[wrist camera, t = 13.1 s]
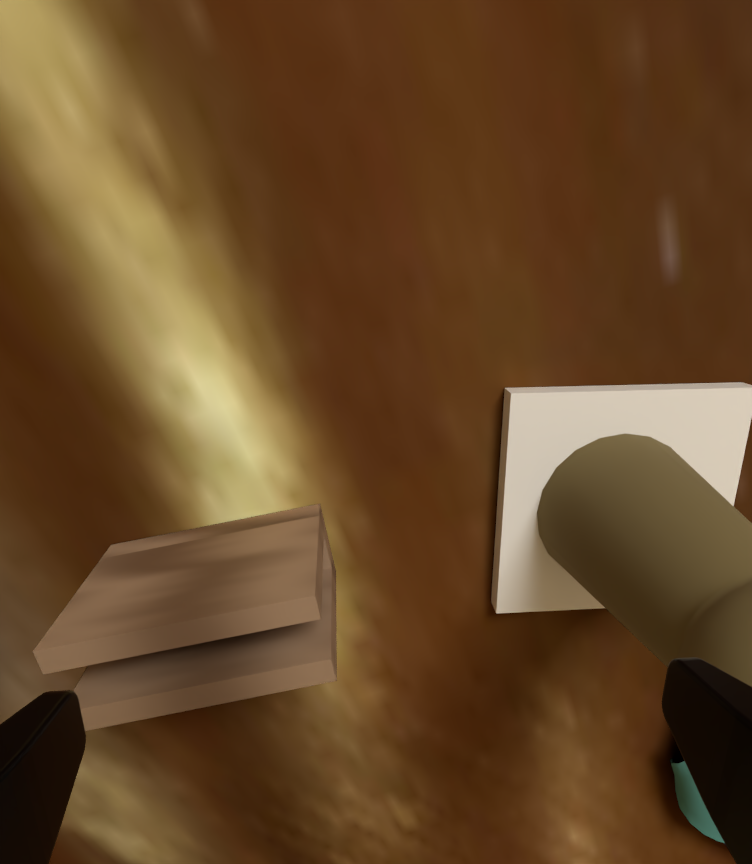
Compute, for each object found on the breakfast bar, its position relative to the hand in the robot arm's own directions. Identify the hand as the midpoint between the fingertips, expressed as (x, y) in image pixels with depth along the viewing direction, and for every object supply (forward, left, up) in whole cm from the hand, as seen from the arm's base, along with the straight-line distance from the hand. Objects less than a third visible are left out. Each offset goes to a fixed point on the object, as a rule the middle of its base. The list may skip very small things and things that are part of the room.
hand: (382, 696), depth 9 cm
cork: (+10, -3, -12) cm, 16 cm away
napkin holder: (-5, -5, -13) cm, 15 cm away
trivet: (+10, -3, -13) cm, 17 cm away
